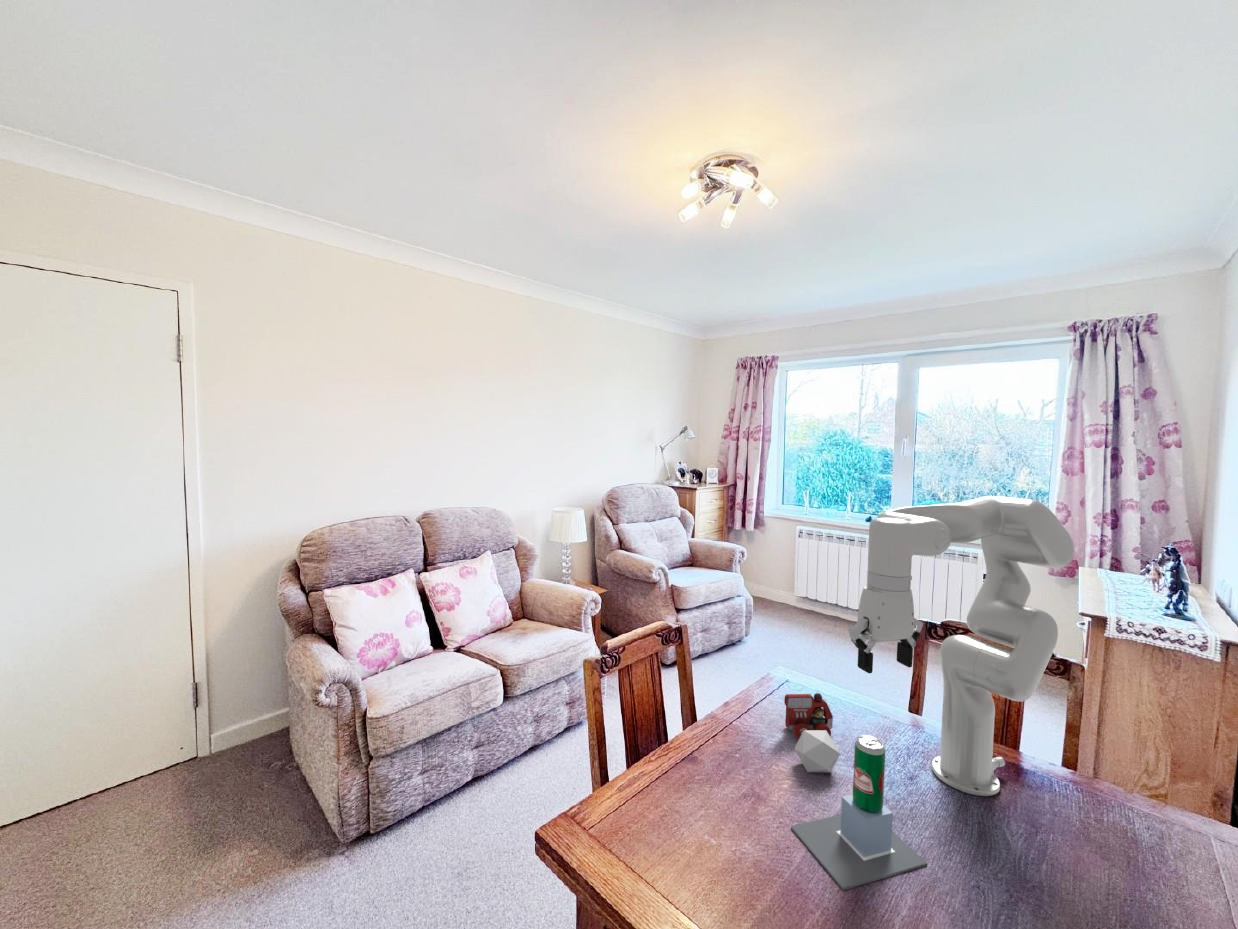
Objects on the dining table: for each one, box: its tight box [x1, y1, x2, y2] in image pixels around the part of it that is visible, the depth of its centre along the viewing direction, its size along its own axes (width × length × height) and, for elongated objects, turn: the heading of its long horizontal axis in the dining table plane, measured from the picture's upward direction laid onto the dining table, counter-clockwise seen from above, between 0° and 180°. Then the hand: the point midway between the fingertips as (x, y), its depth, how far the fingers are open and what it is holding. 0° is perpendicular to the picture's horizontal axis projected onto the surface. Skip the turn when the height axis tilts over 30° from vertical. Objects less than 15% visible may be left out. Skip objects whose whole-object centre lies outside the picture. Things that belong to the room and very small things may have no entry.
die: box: [794, 730, 841, 773], centre depth 116 cm, size 8×9×10 cm
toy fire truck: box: [784, 692, 834, 741], centre depth 129 cm, size 7×12×10 cm, turn 94°
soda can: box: [852, 734, 886, 813], centre depth 94 cm, size 5×5×12 cm
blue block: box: [840, 793, 894, 857], centre depth 94 cm, size 6×6×7 cm
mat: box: [790, 813, 928, 891], centre depth 94 cm, size 18×14×1 cm
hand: (884, 667), depth 100 cm, fingers open, 9 cm apart
